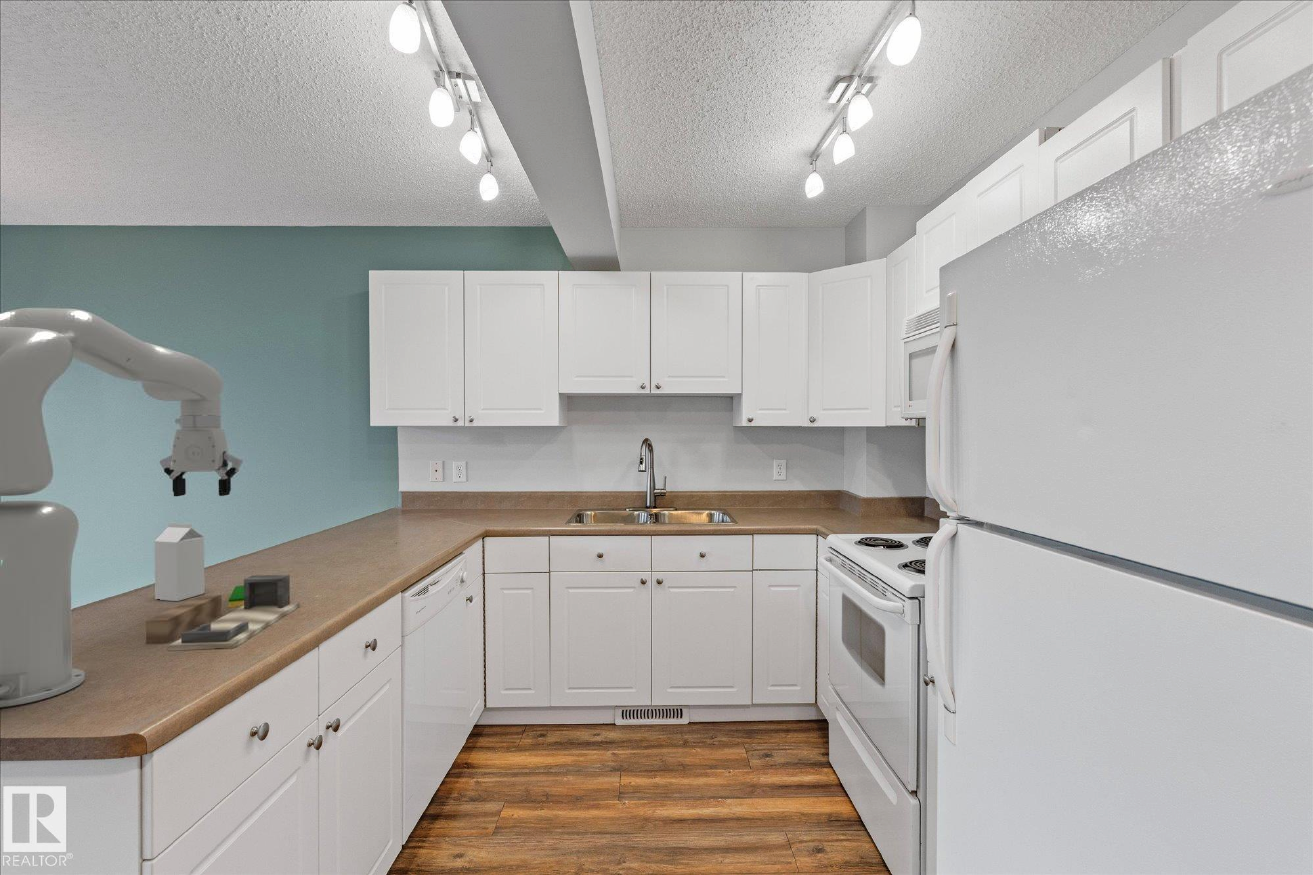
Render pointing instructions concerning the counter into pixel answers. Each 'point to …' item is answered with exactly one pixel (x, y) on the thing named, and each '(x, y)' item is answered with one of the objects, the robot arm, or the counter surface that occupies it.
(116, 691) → the counter surface
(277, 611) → the end cap board
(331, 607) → the counter surface
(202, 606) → the walnut slat
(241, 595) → the dish sponge
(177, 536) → the milk carton
